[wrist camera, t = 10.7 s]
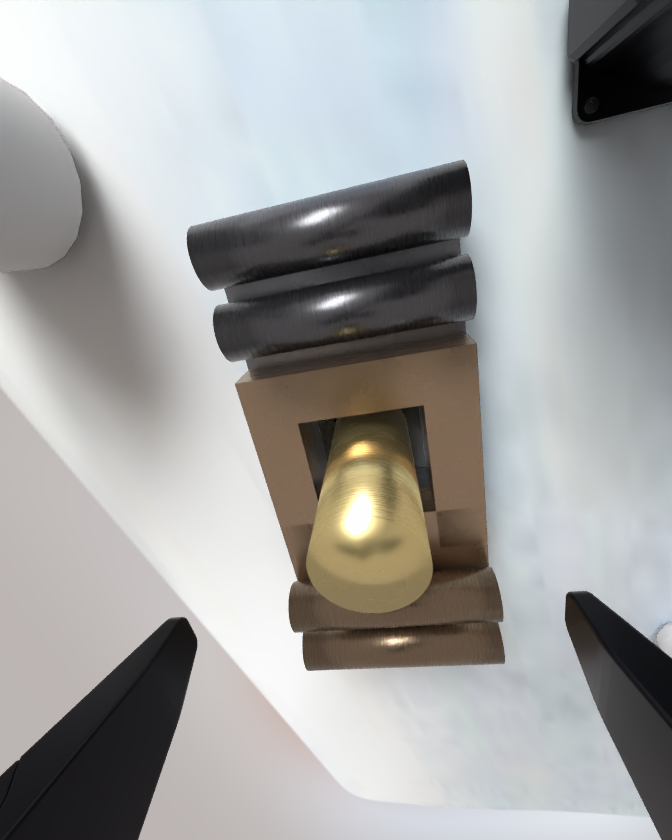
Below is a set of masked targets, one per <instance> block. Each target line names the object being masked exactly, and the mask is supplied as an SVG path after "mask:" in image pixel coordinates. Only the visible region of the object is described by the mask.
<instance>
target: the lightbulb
mask: <svg viewBox="0 0 672 840" xmlns="http://www.w3.org/2000/svg"><path fill="white" fill-rule="evenodd" d="M657 643H658V645H659V646H660V648H661V650H662V651H664V652H665V653H666V654H667V655H669V656H670V657H671V658H672V623H668V624H666V625H664V626H663V629H661V630H660V631H659V633H658V635H657Z"/></svg>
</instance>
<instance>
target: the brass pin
mask: <svg viewBox="0 0 672 840" xmlns="http://www.w3.org/2000/svg"><path fill="white" fill-rule="evenodd" d="M306 568H307V573H308V576H309V578H310V581H311V582H312V584H313V586H314V587H315V588H316V589H317V591H318V592H319V593H320V594H321V595H322V596H324V597H325V598H326V599H327V600H329V601H331V602H332V603H334V604H336V605H338V606H340V607H343V608H345V609H348V610H352V611H356V612H362V613H385V612H390V611H394V610H398V609H401V608H403V607H405V606H407V605H409V604H411V603H413V602H414V601H415V600H417V599H418V598H419V597H420V596H421V595H422V594H423V593H424V592H425V590H426V589H427V587H428V586H429V584H430V581H431V578H432V573H433V563H432V558H431V552H430V546H429V541H428V535H427V530H426V524H425V519H424V513H423V508H422V502H421V496H420V491H419V485H418V480H417V474H416V469H415V463H414V458H413V452H412V446H411V441H410V435H409V430H408V424H407V420H406V418H405V416H404V414H403V412H402V411H401V410H400V409H394V410H388V411H381V412H374V413H367V414H360V415H353V416H346V417H339V418H337V421H336V425H335V429H334V434H333V438H332V443H331V448H330V452H329V457H328V461H327V466H326V470H325V475H324V479H323V484H322V489H321V493H320V498H319V502H318V507H317V511H316V516H315V521H314V525H313V530H312V534H311V539H310V543H309V548H308V553H307V558H306Z"/></svg>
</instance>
